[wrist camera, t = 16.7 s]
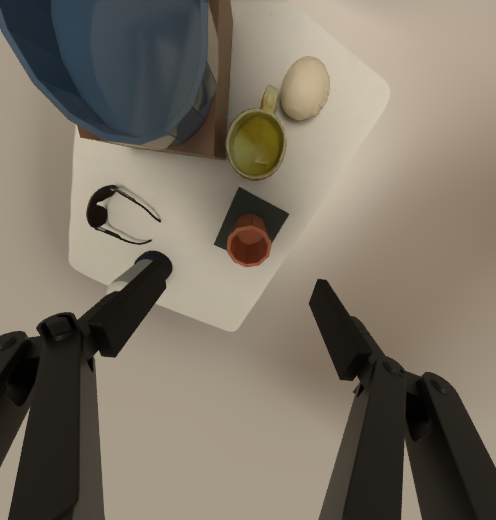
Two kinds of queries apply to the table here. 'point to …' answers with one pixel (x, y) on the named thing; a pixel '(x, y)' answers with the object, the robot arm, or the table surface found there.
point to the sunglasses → (99, 213)
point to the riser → (215, 124)
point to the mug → (257, 139)
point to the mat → (248, 205)
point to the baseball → (305, 88)
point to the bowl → (120, 64)
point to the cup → (249, 241)
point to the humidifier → (140, 269)
